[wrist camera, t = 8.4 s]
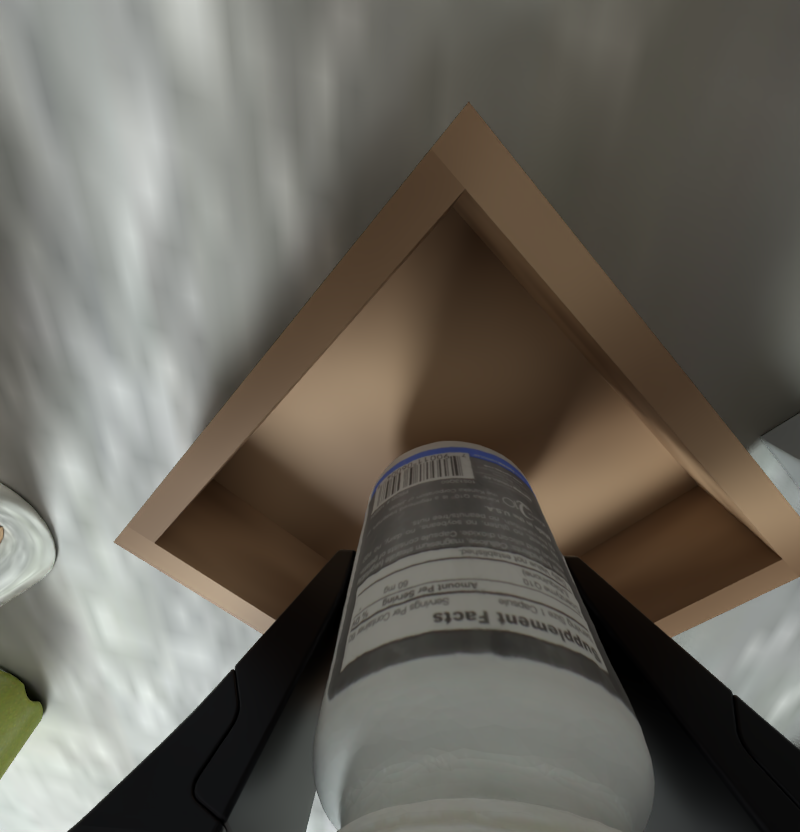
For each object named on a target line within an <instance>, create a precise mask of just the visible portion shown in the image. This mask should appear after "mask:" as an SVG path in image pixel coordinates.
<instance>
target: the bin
mask: <svg viewBox="0 0 800 832" xmlns="http://www.w3.org/2000/svg"><path fill="white" fill-rule="evenodd" d="M760 438H761V439H762V441H763V442H764V443H765V445H766V446H767V447H768V449H769V450H770V451H771V452H772V454H773V455H774V456H775V458H776V459H777V460H778V461H779V463H780V464H781V465H782V467H783V468H784V469H785V471H786V472H787V473H788V474H789V476H790V477H791V478H792V480H793V481H794V482H795V483H796V485H797V486H798V487H799V489H800V413H799V414H797V415H795V416H794V417H792V418H791V419H789V420H787V421H786V422H784V423H782V424H781V425H779V426H778V427H776V428H774V429H773V430H771V431H769V432H768V433H766V434H765V435H763V436H761V437H760Z"/></svg>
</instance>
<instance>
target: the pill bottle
mask: <svg viewBox="0 0 800 832" xmlns="http://www.w3.org/2000/svg"><path fill="white" fill-rule="evenodd" d="M312 766H313V775H314V782H315V787H316V790H317V793H318V796H319V799H320V802H321V804H322V807H323V809H324V811H325V813H326V815H327V817H328V818H329V820H330V821H331V822H332V824H333V825H334V826H335V828H336V829H337V830H338V831H337V832H643V830H644V829H645V827H646V825H647V822H648V819H649V816H650V814H651V811H652V805H653V799H654V785H655V781H654V773H653V766H652V760H651V757H650V753H649V750H648V748H647V745H646V742H645V739H644V735H643V732H642V729H641V726H640V724H639V722H638V719H637V717H636V715H635V713H634V710H633V708H632V706H631V703H630V701H629V699H628V697H627V695H626V693H625V691H624V689H623V687H622V685H621V683H620V681H619V679H618V677H617V675H616V673H615V671H614V669H613V667H612V665H611V663H610V660H609V659H608V657H607V655H606V652H605V650H604V647H603V645H602V643H601V641H600V639H599V637H598V634H597V632H596V629H595V626H594V624H593V622H592V621H591V619H590V616H589V614H588V612H587V609H586V607H585V605H584V604H583V601H582V599H581V596H580V594H579V592H578V590H577V587H576V585H575V583H574V580H573V578H572V576H571V574H570V571H569V569H568V566H567V564H566V561H565V559H564V557H563V555H562V553H561V552H560V550H559V548H558V546H557V544H556V541H555V538H554V536H553V534H552V532H551V530H550V527H549V525H548V523H547V521H546V519H545V517H544V515H543V513H542V510H541V508H540V505H539V503H538V501H537V498H536V496H535V494H534V492H533V490H532V488H531V486H530V484H529V482H528V481H527V479H526V477H525V476H524V474H523V473H522V472H521V470H520V469H519V468H518V467H517V466H516V465H515V464H514V463H513V462H512V461H510V460H509V459H507V458H506V457H505V456H503V455H501V454H499V453H497V452H496V451H494V450H491V449H489V448H486V447H483V446H481V445H477V444H473V443H467V442H460V441H439V442H434V443H430V444H427V445H423V446H420V447H417V448H415V449H412V450H410V451H408V452H406V453H404V454H402V455H401V456H399V457H398V458H396V459H395V460H394V461H393V462H392V463H391V464H390V465H389V466H388V467H387V468H386V469H385V470H384V471H383V473H382V474H381V475H380V477H379V478H378V480H377V482H376V483H375V485H374V487H373V489H372V492H371V494H370V497H369V502H368V506H367V510H366V513H365V518H364V524H363V527H362V531H361V535H360V539H359V544H358V548H357V552H356V556H355V560H354V563H353V567H352V573H351V578H350V582H349V586H348V590H347V596H346V600H345V603H344V608H343V612H342V616H341V620H340V624H339V630H338V636H337V641H336V647H335V651H334V655H333V659H332V662H331V666H330V672H329V676H328V680H327V684H326V688H325V692H324V696H323V700H322V705H321V709H320V714H319V719H318V724H317V729H316V733H315V738H314V744H313V755H312Z"/></svg>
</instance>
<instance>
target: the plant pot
mask: <svg viewBox="0 0 800 832" xmlns="http://www.w3.org/2000/svg"><path fill="white" fill-rule="evenodd" d="M42 715H43V708H42V705H41V703H40V702H39V701H31V700H29V699H28V697H27V695H26V691H25V686H24V684H23V683H22V682H21V681H19V679H18V678H16V677H15V676H13V675H11V674H10V673H6V672H4V671H2V670H0V779H1V778H2V776H3V775H4V773H5V772H6V770H7V769H8V767H9V766H10V764H11V763H12V761H13V760H14V758H15V757H16V756H17V754H18V753H19V751H20V750H21V748H22V747H23V745H24V744H25V742H26V741H27V740H28V738H29V737H30V735H31V734H32V732H33V731H34V729H35V728H36V726H37V725H38V724H39V722H40V721H41V719H42Z"/></svg>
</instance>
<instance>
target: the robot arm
mask: <svg viewBox="0 0 800 832" xmlns="http://www.w3.org/2000/svg"><path fill="white" fill-rule="evenodd" d="M355 556H356V551H355V550H344V549H341V550H339V551H337V552H336V554H335V555H334V556H333V557H332V558H331V559H330V560H329V561H328V562H327V564H326V565H325V566H324V567H323V568H322V569H321V570H320V571H319V573H318V574H317V575H316V576H315V577H314V578H313V579H312V580H311V582H310V583H309V584H308V585H307V586H306V587H305V588H304V589H303V590H302V592H301V593H300V594H299V595H298V596H297V597H296V598H295V599H294V601H293V602H292V603H291V604H290V605H289V606H288V607H287V608H286V610H285V611H284V612H283V613H282V614H281V615H280V616H279V617H278V618H277V620H276V621H275V622H274V623H273V624H272V625H271V626H270V627H269V629H268V630H267V631H266V632H265V633H264V634H263V635H262V636H261V638H260V639H259V640H258V641H257V642H256V643H255V644H254V645H253V647H252V648H251V649H250V650H249V651H248V652H247V653H246V654H245V655H244V657H243V658H242V659H241V660H240V661H239V662H238V663H237V664H236V666H235V670H234V669H232V670H231V671H230V672H229V673H228V674H227V675H226V677H225V678H224V679H223V680H222V681H221V682H220V683H219V684H218V685H217V687H216V688H215V689H214V690H213V691H212V692H211V693H210V694H209V695H208V696H207V697H206V698H205V699H204V701H203V702H202V703H201V704H200V705H199V706H198V707H197V708H196V709H195V710H194V711H193V712H192V713H191V714H190V715H189V716H188V717H187V718H186V719H185V720H184V721H183V722H182V723H181V724H180V725H179V726H178V727H177V728H176V729H175V730H174V731H173V732H172V733H171V734H170V735H169V736H168V737H167V738H166V739H165V740H164V741H163V742H162V743H161V744H160V745H159V746H158V747H157V748H156V749H155V750H154V751H153V752H152V753H150V754H149V755H148V756H147V757H146V758H145V759H144V760H143V761H142V762H141V763H140V764H139V765H138V766H137V767H136V768H135V769H134V770H133V771H132V772H131V773H130V774H129V775H128V776H126V777H125V778H124V779H123V780H122V781H121V782H120V783H119V784H118V785H117V786H116V787H115V788H114V789H113V790H112V791H111V792H110V793H109V794H108V795H107V796H106V797H105V798H103V799H102V800H101V801H100V802H99V803H98V804H97V805H96V806H95V807H94V808H93V809H92V810H91V811H90V812H89V813H88V814H87V815H86V816H84V817H83V818H82V819H81V820H80V821H79V822H78V823H77V824H76V825H74V826H73V827H72V828H71V829H70V830H68V831H67V832H306V829H307V825H308V821H309V817H310V813H311V808H312V804H313V800H314V796H315V792H316V787H315V782H314V775H313V766H312V755H313V744H314V738H315V733H316V729H317V724H318V719H319V714H320V709H321V705H322V700H323V696H324V692H325V688H326V684H327V680H328V676H329V672H330V666H331V662H332V659H333V655H334V651H335V647H336V641H337V636H338V630H339V624H340V620H341V616H342V612H343V608H344V603H345V600H346V596H347V590H348V586H349V582H350V578H351V573H352V567H353V563H354V560H355ZM563 557H564V559H565V561H566V564H567V566H568V569H569V571H570V574H571V576H572V578H573V580H574V583H575V585H576V587H577V590H578V592H579V594H580V596H581V599H582V601H583V604H584V605H585V607H586V609H587V612H588V614H589V616H590V619H591V621H592V622H593V624H594V626H595V629H596V632H597V634H598V637H599V639H600V641H601V643H602V645H603V647H604V650H605V652H606V655H607V657H608V659H609V660H610V663H611V665H612V667H613V669H614V671H615V673H616V675H617V677H618V679H619V681H620V683H621V685H622V687H623V689H624V691H625V693H626V695H627V697H628V699H629V701H630V703H631V706H632V708H633V710H634V713H635V715H636V717H637V719H638V722H639V724H640V726H641V729H642V732H643V735H644V739H645V742H646V745H647V748H648V750H649V753H650V757H651V760H652V766H653V773H654V781H655V785H654V799H653V805H652V811H651V814H650V816H649V819H648V822H647V825H646V827H645V829H644V830H643V832H800V749H798V748H797V747H796V746H795V745H794V744H793V743H791V742H790V741H789V740H788V739H787V738H785V737H784V736H783V735H782V734H781V733H780V732H778V731H777V730H776V729H775V728H774V727H773V726H771V725H770V724H769V723H768V722H767V721H765V720H764V719H763V718H762V717H761V716H760V715H758V714H757V713H756V712H755V711H754V710H753V709H752V708H750V707H749V706H748V705H747V704H746V703H745V702H744V701H742V700H741V699H740V698H739V697H738V696H736V695H733V694H732V691H731V690H730V689H729V688H727V687H726V686H725V685H724V684H723V683H722V682H721V681H719V680H718V679H717V678H716V677H715V676H714V675H713V674H711V673H710V672H709V671H708V670H707V669H706V668H705V667H703V666H702V665H701V664H700V663H699V662H698V661H697V660H695V659H694V658H693V657H692V656H691V655H690V654H689V653H687V652H686V651H685V650H684V649H683V648H682V647H681V646H680V645H678V644H677V643H676V642H675V641H674V640H673V639H672V638H670V637H669V636H668V635H667V634H666V633H665V632H664V631H662V630H661V629H660V628H659V627H658V626H657V625H656V624H654V623H653V622H652V621H651V620H650V619H649V618H648V617H646V616H645V615H644V614H643V613H642V612H641V611H640V610H638V609H637V608H636V607H635V606H634V605H633V604H632V603H630V602H629V601H628V600H627V599H626V598H625V597H624V596H622V595H621V594H620V593H619V592H618V591H617V590H616V589H614V588H613V587H612V586H611V585H610V584H609V583H608V582H607V581H605V580H604V579H603V578H602V577H601V576H600V575H599V574H597V573H596V572H595V571H594V570H593V569H592V568H591V567H589V566H588V565H587V564H586V563H585V562H584V561H583V560H581V559H580V558H579V557H577V556H564V555H563Z"/></svg>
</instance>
